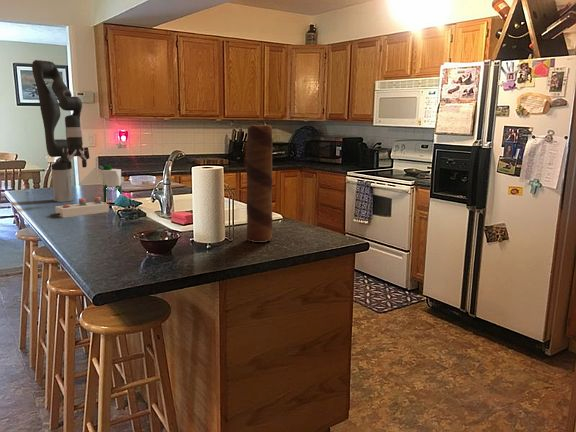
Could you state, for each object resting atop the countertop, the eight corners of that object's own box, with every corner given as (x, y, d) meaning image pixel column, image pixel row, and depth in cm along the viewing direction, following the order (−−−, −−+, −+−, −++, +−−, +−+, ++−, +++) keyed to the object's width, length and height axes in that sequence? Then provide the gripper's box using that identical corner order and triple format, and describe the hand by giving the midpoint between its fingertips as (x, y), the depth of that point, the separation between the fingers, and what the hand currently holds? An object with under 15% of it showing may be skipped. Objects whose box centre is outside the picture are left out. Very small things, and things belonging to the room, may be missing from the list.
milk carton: (108, 200, 265) (106, 164, 261) (124, 201, 265) (122, 165, 261) (101, 203, 257) (99, 166, 253) (118, 204, 257) (116, 166, 252)
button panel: (47, 215, 224) (46, 206, 223) (101, 209, 243) (100, 200, 242) (54, 219, 218) (53, 209, 217) (109, 211, 236) (108, 202, 235)
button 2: (78, 204, 231) (77, 198, 230) (84, 203, 233) (83, 198, 232) (80, 205, 229) (80, 199, 228) (86, 204, 231) (86, 199, 230)
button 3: (93, 202, 236) (93, 197, 236) (99, 201, 238) (99, 196, 238) (96, 203, 234) (95, 198, 234) (102, 202, 236) (101, 197, 236)
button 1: (62, 210, 226) (61, 204, 225) (68, 209, 228) (68, 204, 228) (64, 211, 224) (64, 205, 223) (71, 210, 226) (71, 205, 226)
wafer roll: (248, 244, 182) (249, 124, 173) (243, 238, 192) (244, 124, 183) (275, 243, 185) (277, 125, 176) (269, 236, 195) (270, 124, 186)
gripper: (81, 136, 253) (84, 166, 256) (56, 136, 241) (60, 169, 244) (90, 136, 249) (93, 167, 252) (66, 136, 237) (69, 169, 240)
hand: (77, 168), depth 248 cm, fingers open, 8 cm apart
